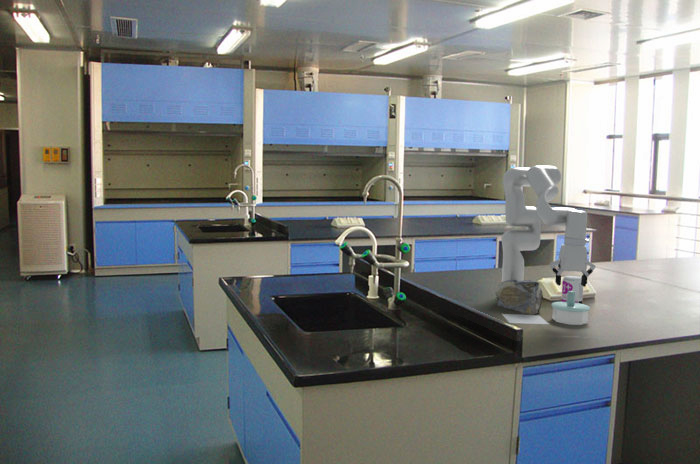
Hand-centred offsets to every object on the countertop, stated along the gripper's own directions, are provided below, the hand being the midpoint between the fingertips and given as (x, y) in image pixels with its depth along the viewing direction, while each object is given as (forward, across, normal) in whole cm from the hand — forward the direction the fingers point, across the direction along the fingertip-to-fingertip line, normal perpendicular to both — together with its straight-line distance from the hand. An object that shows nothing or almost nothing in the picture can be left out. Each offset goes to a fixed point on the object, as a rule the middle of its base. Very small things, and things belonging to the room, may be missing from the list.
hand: (570, 285), depth 226 cm
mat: (+14, +17, +1) cm, 22 cm away
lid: (+9, 0, +1) cm, 9 cm away
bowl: (+14, 0, +1) cm, 14 cm away
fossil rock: (+15, +15, -17) cm, 27 cm away
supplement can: (+15, -6, -15) cm, 22 cm away
